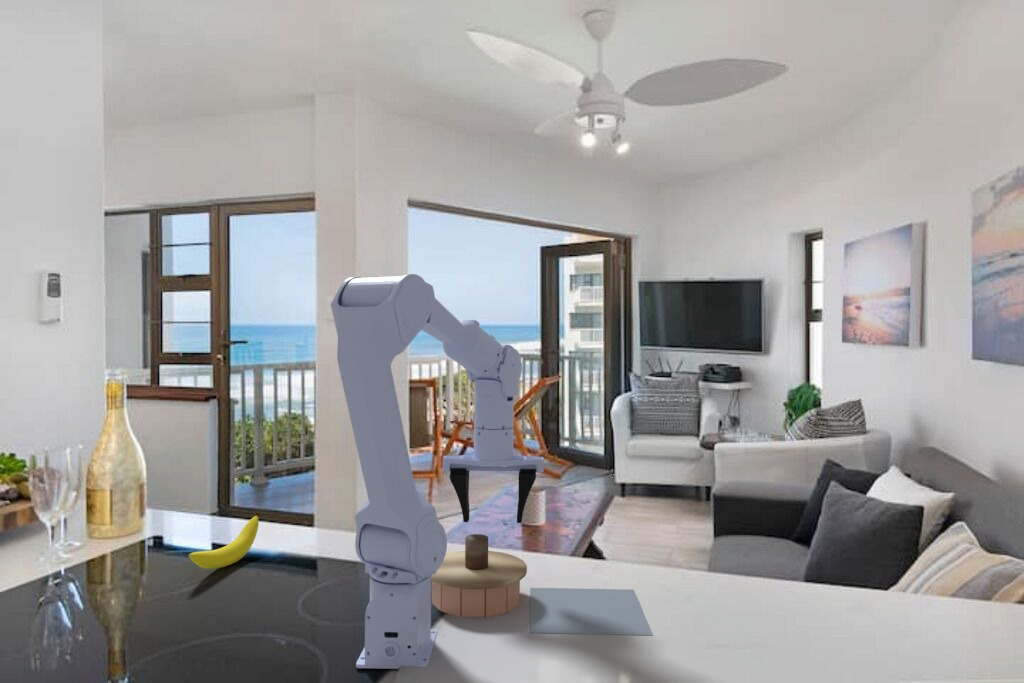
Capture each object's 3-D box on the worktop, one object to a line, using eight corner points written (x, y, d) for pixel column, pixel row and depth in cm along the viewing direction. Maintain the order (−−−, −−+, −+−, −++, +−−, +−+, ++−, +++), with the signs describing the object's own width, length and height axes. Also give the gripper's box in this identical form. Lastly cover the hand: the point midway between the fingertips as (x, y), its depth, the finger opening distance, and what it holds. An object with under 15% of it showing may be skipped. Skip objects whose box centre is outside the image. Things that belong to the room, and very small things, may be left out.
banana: (179, 587, 99) (179, 544, 99) (250, 548, 118) (250, 511, 118) (197, 589, 99) (197, 545, 99) (265, 549, 117) (265, 512, 117)
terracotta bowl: (518, 621, 88) (519, 587, 88) (427, 620, 88) (427, 585, 88) (519, 587, 100) (520, 557, 100) (439, 586, 100) (439, 556, 100)
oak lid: (527, 590, 87) (527, 554, 87) (419, 588, 87) (419, 553, 87) (526, 555, 101) (526, 524, 101) (432, 553, 101) (432, 523, 101)
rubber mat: (652, 639, 83) (652, 635, 83) (530, 637, 84) (530, 632, 84) (633, 593, 98) (633, 589, 98) (530, 591, 99) (530, 587, 99)
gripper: (543, 424, 102) (542, 514, 102) (447, 422, 102) (446, 512, 102) (544, 430, 95) (543, 527, 95) (441, 429, 95) (440, 525, 95)
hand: (492, 520), depth 98 cm, fingers open, 7 cm apart
